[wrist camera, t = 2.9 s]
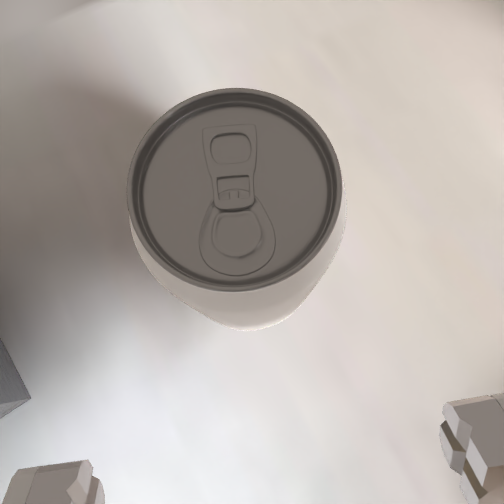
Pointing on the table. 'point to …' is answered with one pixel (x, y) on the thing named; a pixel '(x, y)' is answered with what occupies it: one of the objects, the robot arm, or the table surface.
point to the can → (237, 205)
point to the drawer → (10, 384)
